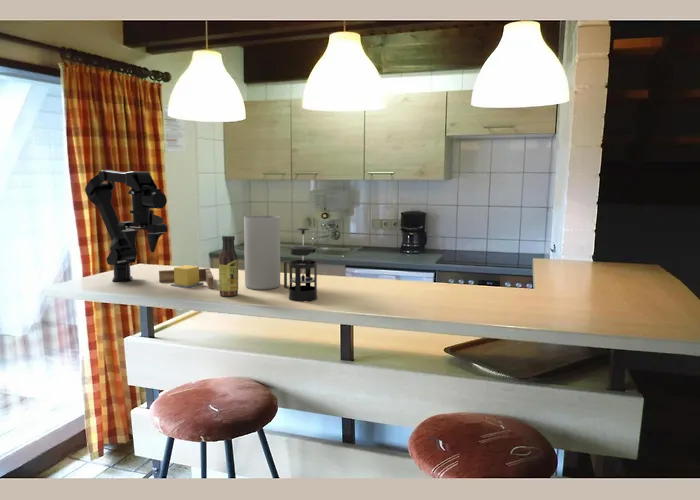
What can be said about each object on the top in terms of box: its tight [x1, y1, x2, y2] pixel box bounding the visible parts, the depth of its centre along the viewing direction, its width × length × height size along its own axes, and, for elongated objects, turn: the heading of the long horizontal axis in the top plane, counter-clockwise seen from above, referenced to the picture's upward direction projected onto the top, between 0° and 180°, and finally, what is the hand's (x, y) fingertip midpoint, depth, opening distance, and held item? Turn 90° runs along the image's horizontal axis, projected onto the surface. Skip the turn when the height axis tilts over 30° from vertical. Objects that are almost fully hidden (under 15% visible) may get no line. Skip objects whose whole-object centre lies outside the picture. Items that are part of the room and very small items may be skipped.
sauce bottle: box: [218, 234, 239, 297], centre depth 170 cm, size 7×6×20 cm
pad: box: [170, 281, 204, 289], centre depth 185 cm, size 8×8×1 cm
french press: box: [283, 227, 318, 303], centre depth 166 cm, size 12×9×23 cm
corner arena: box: [158, 267, 215, 290], centre depth 185 cm, size 18×18×4 cm
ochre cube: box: [173, 264, 200, 286], centre depth 185 cm, size 6×6×6 cm
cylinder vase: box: [243, 214, 281, 291], centre depth 183 cm, size 12×12×25 cm
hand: (143, 251), depth 183 cm, fingers open, 9 cm apart
